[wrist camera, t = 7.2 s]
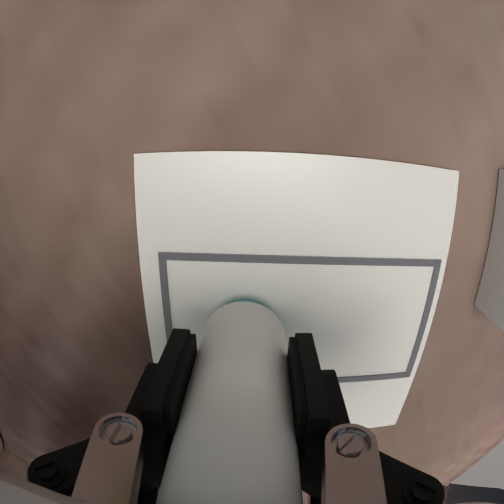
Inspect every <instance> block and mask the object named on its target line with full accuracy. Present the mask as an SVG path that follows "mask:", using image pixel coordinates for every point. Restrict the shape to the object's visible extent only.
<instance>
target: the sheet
mask: <svg viewBox="0 0 504 504" xmlns="http://www.w3.org/2000/svg"><path fill="white" fill-rule="evenodd" d="M134 177H135V202H136V220H137V235H138V247H139V258H140V269H141V278H142V287H143V296H144V304H145V311H146V319H147V326H148V332H149V339H150V345H151V351H152V357H153V363H158V362H159V360H160V357H161V355H162V353H163V350H164V348H165V346H166V344H167V341H168V339H169V337H170V335H171V332H172V330H173V329H174V328H178V329H189V330H190V332H191V334H196V341H197V351H198V348H199V344H200V341H201V337H202V334H203V331H204V327H205V324H206V322H207V320H208V318H209V317H210V316H211V314H212V313H213V312H215V311H216V310H217V309H219V308H220V307H222V306H224V305H226V304H227V303H229V302H232V301H235V300H240V299H249V300H254V301H257V302H260V303H262V304H263V305H265V306H266V307H268V308H269V309H270V310H271V311H272V312H274V313H275V314H276V315H277V316H278V317H279V319H280V320H281V322H282V324H283V326H284V329H285V336H286V344H287V353H288V343H289V337H295V333H312V335H313V339H314V343H315V347H316V351H317V355H318V359H319V363H320V368H321V370H328V369H334V370H335V372H336V375H337V378H338V381H339V385H340V388H341V392H342V395H343V399H344V402H345V406H346V409H347V413H348V417H349V420H350V423H352V424H358V425H361V426H364V427H366V428H372V427H380V426H388V425H395V423H396V421H397V419H398V416H399V414H400V412H401V409H402V407H403V404H404V402H405V399H406V397H407V394H408V392H409V389H410V387H411V384H412V381H413V379H414V376H415V373H416V370H417V367H418V365H419V362H420V359H421V356H422V353H423V350H424V346H425V343H426V340H427V337H428V334H429V330H430V327H431V323H432V320H433V316H434V313H435V309H436V305H437V301H438V297H439V293H440V289H441V285H442V280H443V276H444V271H445V266H446V262H447V256H448V251H449V246H450V240H451V234H452V228H453V221H454V214H455V207H456V199H457V190H458V180H459V171H455V170H449V169H443V168H437V167H430V166H424V165H417V164H409V163H402V162H394V161H385V160H377V159H367V158H357V157H346V156H334V155H320V154H304V153H285V152H254V151H188V152H158V153H139V154H134Z"/></svg>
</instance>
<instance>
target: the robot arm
mask: <svg viewBox="0 0 504 504" xmlns="http://www.w3.org/2000/svg"><path fill="white" fill-rule="evenodd" d="M196 355H197V341H196V334H191V332H190V330H189V329H178V328H174V329H173V330H172V332H171V335H170V337H169V339H168V341H167V344H166V346H165V348H164V350H163V353H162V355H161V357H160V360H159V362H158V363H148V365H147V366H146V368H145V370H144V373H143V375H142V377H141V379H140V381H139V383H138V385H137V388H136V390H135V392H134V394H133V396H132V399H131V401H130V403H129V405H128V407H127V410H126V412H125V413H112V414H108V415H106V416H104V417H102V418H101V419H100V420H99V421H98V422H97V423H96V425H95V427H94V429H93V432H92V435H91V438H89V439H87V440H84V441H81V442H79V443H76V444H73V445H71V446H68V447H65V448H62V449H59V450H57V451H54V452H51V453H48V454H45V455H42V456H40V457H38V458H36V459H35V460H34V461H32V462H31V464H27V462H26V461H16V462H0V504H156V502H157V498H158V494H159V490H160V486H161V482H162V478H163V475H164V471H165V467H166V463H167V459H168V456H169V452H170V448H171V444H172V441H173V437H174V434H175V430H176V427H177V423H178V419H179V416H180V412H181V409H182V405H183V401H184V398H185V394H186V391H187V387H188V383H189V380H190V376H191V373H192V369H193V366H194V362H195V359H196ZM287 358H288V368H289V377H290V386H291V395H292V405H293V415H294V425H295V435H296V443H297V447H298V456H299V467H300V477H301V488H302V490H303V491H304V492H306V493H307V494H308V504H504V490H503V489H499V488H487V487H476V486H467V485H459V484H451V483H450V484H449V485H448V486H443V485H442V484H441V483H440V482H439V480H437V479H436V478H434V477H433V476H431V475H428V474H426V473H424V472H422V471H420V470H417V469H415V468H413V467H411V466H409V465H407V464H405V463H402V462H400V461H398V460H396V459H394V458H392V457H390V456H388V455H386V454H384V453H382V452H380V451H379V449H378V444H377V440H376V437H375V435H374V434H373V433H372V432H371V430H369V429H367V428H366V427H364V426H361V425H358V424H352V423H350V420H349V417H348V413H347V409H346V406H345V402H344V399H343V395H342V392H341V388H340V385H339V381H338V378H337V375H336V372H335V370H334V369H328V370H321V368H320V363H319V359H318V355H317V351H316V347H315V343H314V339H313V335H312V333H295V337H289V343H288V354H287ZM2 449H3V444H2V441H1V437H0V452H1V451H2Z"/></svg>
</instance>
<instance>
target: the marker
mask: <svg viewBox="0 0 504 504" xmlns="http://www.w3.org/2000/svg"><path fill="white" fill-rule="evenodd" d="M287 354H288V353H287V344H286V336H285V329H284V326H283V324H282V322H281V320H280V319H279V317H278V316H277V315H276V314H275V313H274V312H272V311H271V310H270V309H269V308H268V307H266V306H265V305H263V304H262V303H260V302H257V301H254V300H249V299H240V300H235V301H232V302H229V303H227V304H226V305H224V306H222V307H220V308H219V309H217V310H216V311H215V312H213V313H212V314H211V316H210V317H209V318H208V320H207V322H206V324H205V327H204V331H203V334H202V337H201V341H200V344H199V348H198V351H197V355H196V359H195V362H194V366H193V369H192V373H191V376H190V380H189V383H188V387H187V391H186V394H185V398H184V401H183V405H182V409H181V412H180V416H179V419H178V423H177V427H176V430H175V434H174V437H173V441H172V444H171V448H170V452H169V456H168V459H167V463H166V467H165V471H164V475H163V478H162V482H161V486H160V490H159V494H158V498H157V502H156V504H303V500H302V488H301V477H300V467H299V456H298V447H297V443H296V435H295V425H294V415H293V405H292V395H291V386H290V377H289V368H288V358H287Z"/></svg>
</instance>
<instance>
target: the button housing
mask: <svg viewBox="0 0 504 504" xmlns="http://www.w3.org/2000/svg"><path fill="white" fill-rule="evenodd" d="M474 306H476V307H477V308H478V309H479V310H480V311H481V312H482V313H483V314H484V315H486V316H487V317H488V318H489V319H490V320H491V321H492V322H493V323H494V324H495V325H496V326H497V327H498V328H500V329H501V330H502V331H503V332H504V169H499V177H498V188H497V196H496V204H495V212H494V218H493V225H492V230H491V236H490V241H489V247H488V252H487V256H486V261H485V265H484V270H483V274H482V278H481V282H480V286H479V290H478V293H477V297H476V301H475V304H474Z"/></svg>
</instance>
